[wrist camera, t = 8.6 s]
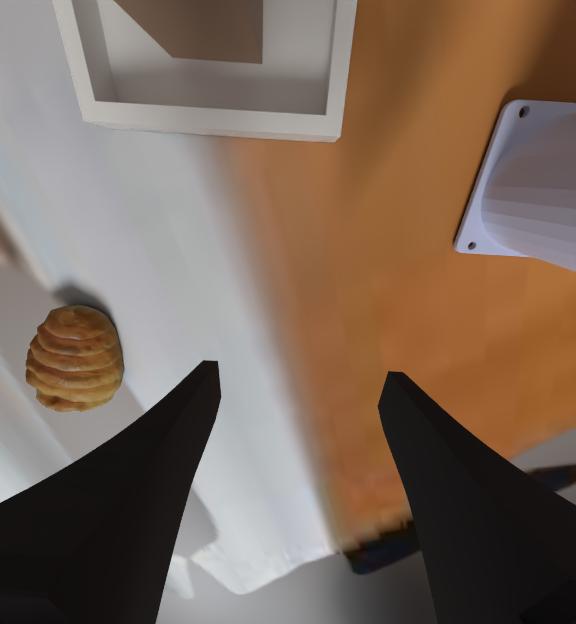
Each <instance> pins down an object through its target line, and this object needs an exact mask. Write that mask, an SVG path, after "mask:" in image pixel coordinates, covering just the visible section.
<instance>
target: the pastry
mask: <svg viewBox="0 0 576 624" xmlns="http://www.w3.org/2000/svg"><path fill="white" fill-rule="evenodd" d="M37 332H38V334H37V335H36V336H35V337H34V338H33V340H32V341H31V343H30V349H29V350H28V354H27V360H26V367H27V370H26V381H27V383H28V384H29V385H31V386H33V387H35V388H36V390H37V396H36V398H37V400H38V401H39V402H40V403H41V404H42V405H44V406H45V407H47V408H50V409H53V410H55V411H58V412H70V411H80V412H82V411H86V410H90V409H93V408H96V407H98V406H101V405H103V404H105V403H107V402H108V401H109V400H111V398H112V397H113V395H114V394H115V392H116V391H117V390H118V388H119V387H120V385H121V382H122V377H123V372H124V366H123V359H122V351H121V348H120V344H119V339H118V335H117V332H116V329H115V328H114V326H113V325H112V324H111V322H110V320H109V318H108V316H107V315H105V314H103V313H102V312H101V311H99V310H96V309H92V308H90V307H87V306H84V305H74V306H64V307H61V308H57V309H54V310H51V311H50V313H49V315H48V317H47V318H46V320H45V322H44V323H42V324H41V325H40V326H38V328H37Z"/></svg>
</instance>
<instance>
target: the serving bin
mask: <svg viewBox="0 0 576 624" xmlns="http://www.w3.org/2000/svg"><path fill="white" fill-rule="evenodd" d="M52 1H53V5H54V9H55V13H56V17H57V21H58V24H59V28H60V32H61V36H62V40H63V44H64V47H65V51H66V55H67V59H68V63H69V67H70V71H71V74H72V78H73V82H74V86H75V90H76V94H77V98H78V101H79V105H80V109H81V113H82V117H83V121H86V122H90V123H93V124H97V125H101V126H105V127H108V128H112V129H117V130H133V131H149V132H166V133H182V134H198V135H214V136H231V137H247V138H263V139H279V140H296V141H312V142H328V143H334V142H335V141H336V140H337V139H338V138H340V136H341V128H342V120H343V112H344V104H345V96H346V88H347V80H348V72H349V64H350V56H351V48H352V40H353V31H354V23H355V15H356V7H357V0H263V52H262V64H253V63H239V62H225V61H212V60H198V59H184V58H172V57H171V56H170V55H169V54H168V53H167V52H166V51H165V50H164V49H163V48H162V47H161V46H160V45H159V44H158V43H157V42H156V41H155V40H154V39H153V38H152V37H151V36H150V35H149V34H148V33H147V32H146V31H145V30H144V29H143V28H141V27H140V26H139V25H138V24H137V23H136V22H135V21H134V20H133V19H132V18H131V17H130V16H129V15H128V14H127V13H126V12H125V11H124V10H123V9H122V8H121V7H120V6H119V5H118V4H117V3H116V2H115V1H114V0H52Z"/></svg>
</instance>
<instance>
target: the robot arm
mask: <svg viewBox="0 0 576 624" xmlns="http://www.w3.org/2000/svg"><path fill="white" fill-rule="evenodd" d="M521 108H523V109H524V114H523V116H522V117H521V118H520V117H519V111H520V110H521ZM471 242H473V245H472V246H471V247H470V248H468V245H469V244H470V243H471ZM454 249H455V250H456V251H457V252H460V253H473V254H489V255H506V256H522V257H534V258H537V259H540V260H543V261H546V262H549V263H552V264H555V265H558V266H561V267H564V268H567V269H570V270H573V271H576V103H568V102H552V101H536V100H519V99H518V100H514V101H511V102H509V103H507V104H506V105H505V106H504V107H503V109H502V111H501V113H500V116H499V118H498V121H497V124H496V127H495V130H494V132H493V135H492V138H491V141H490V144H489V147H488V149H487V152H486V155H485V158H484V161H483V163H482V166H481V169H480V172H479V175H478V178H477V180H476V183H475V186H474V189H473V192H472V194H471V197H470V200H469V203H468V206H467V209H466V211H465V214H464V217H463V220H462V223H461V225H460V228H459V231H458V234H457V237H456V240H455V242H454ZM220 400H221V389H220V378H219V368H218V361H206V360H203V361H202V362H201V363H200V364H199V365H198V366H197V367H196V368H195V369H194V370H193V371H192V372H191V373H190V374H189V375H188V376H186V377H185V378H184V379H183V380H182V381H181V382H180V383H179V384H178V385H177V386H176V387H175V388H174V389H173V390H172V391H170V392H169V393H168V394H167V395H166V396H165V397H164V398H163V399H161V400H160V401H159V402H158V403H157V404H156V405H154V406H153V407H152V408H151V409H150V410H148V411H147V412H146V413H145V414H144V415H142V416H141V417H140V418H138V419H137V420H136V421H135V422H133V423H132V424H131V425H129V426H128V427H127V428H125V429H124V430H123V431H121V432H120V433H118V434H117V435H115V436H114V437H113V438H111V439H110V440H108V441H107V442H105V443H103V444H102V445H100V446H99V447H97V448H96V449H94V450H93V451H92V452H90V453H88V454H87V455H85V456H83V457H82V458H80V459H79V460H77V461H75V462H74V463H72V464H70V465H69V466H67V467H65V468H63V469H62V470H60V471H58V472H57V473H55V474H53V475H51V476H50V477H48V478H46V479H44V480H42V481H41V482H39V483H37V484H35V485H33V486H32V487H30V488H28V489H26V490H24V491H22V492H20V493H18V494H16V495H14V496H12V497H11V498H9V499H7V500H5V501H3V502H1V503H0V624H155V623H156V618H157V615H158V611H159V606H160V602H161V598H162V594H163V589H164V585H165V581H166V577H167V573H168V569H169V565H170V561H171V557H172V553H173V549H174V546H175V542H176V538H177V534H178V531H179V527H180V523H181V520H182V516H183V512H184V509H185V505H186V501H187V498H188V494H189V491H190V488H191V484H192V482H193V479H194V476H195V473H196V470H197V468H198V465H199V462H200V460H201V457H202V454H203V452H204V449H205V446H206V444H207V441H208V439H209V436H210V433H211V431H212V428H213V425H214V422H215V420H216V416H217V412H218V408H219V404H220ZM378 409H379V414H380V419H381V423H382V427H383V431H384V433H385V436H386V439H387V442H388V445H389V447H390V450H391V453H392V456H393V458H394V461H395V464H396V466H397V469H398V472H399V475H400V477H401V480H402V483H403V485H404V488H405V491H406V494H407V497H408V501H409V504H410V508H411V512H412V515H413V519H414V523H415V527H416V530H417V534H418V538H419V542H420V546H421V550H422V554H423V558H424V562H425V567H426V571H427V575H428V580H429V585H430V589H431V594H432V598H433V602H434V607H435V612H436V617H437V622H438V624H576V505H574V504H573V503H571V502H569V501H568V500H566V499H565V498H563V497H561V496H560V495H558V494H557V493H555V492H553V491H552V490H550V489H549V488H547V487H546V486H544V485H543V484H541V483H540V482H538V481H537V480H535V479H534V478H532V477H531V476H529V475H527V474H526V473H524V472H523V471H521V470H520V469H519V468H517V467H516V466H514V465H513V464H511V463H510V462H509V461H507V460H506V459H504V458H503V457H502V456H500V455H499V454H498V453H496V452H495V451H494V450H492V449H491V448H490V447H488V446H487V445H486V444H484V443H483V442H482V441H480V440H479V439H478V438H477V437H475V436H474V435H473V434H472V433H470V432H469V431H468V430H467V429H466V428H464V427H463V426H462V425H461V424H460V423H458V422H457V421H456V420H455V419H454V418H453V417H451V416H450V415H449V414H448V413H447V412H446V411H445V410H443V409H442V408H441V407H440V406H439V405H438V404H437V403H436V402H435V401H434V400H433V399H431V398H430V397H429V396H428V395H427V394H426V393H425V392H424V391H423V390H422V389H421V388H420V387H419V386H418V385H416V384H415V383H414V382H413V381H412V380H411V379H410V378H409V377H408V376H407V375H406V374H404V373H403V372H392V371H388V374H387V377H386V381H385V384H384V387H383V391H382V394H381V397H380V400H379V404H378Z"/></svg>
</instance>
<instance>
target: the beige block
mask: <svg viewBox="0 0 576 624" xmlns="http://www.w3.org/2000/svg"><path fill="white" fill-rule="evenodd" d="M114 1H115V2H116V3H117V4H118V5H119V6H120V7H121V8H122V9H123V10H124V11H125V12H126V13H127V14H128V15H129V16H130V17H131V18H132V19H133V20H134V21H135V22H136V23H137V24H138V25H139V26H140V27H141V28H143V29H144V30H145V31H146V32H147V33H148V34H149V35H150V36H151V37H152V38H153V39H154V40H155V41H156V42H157V43H158V44H159V45H160V46H161V47H162V48H163V49H164V50H165V51H166V52H167V53H168V54H169V55H170V56H171V57H172V58H184V59H198V60H212V61H225V62H239V63H253V64H262V52H263V0H114Z"/></svg>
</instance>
